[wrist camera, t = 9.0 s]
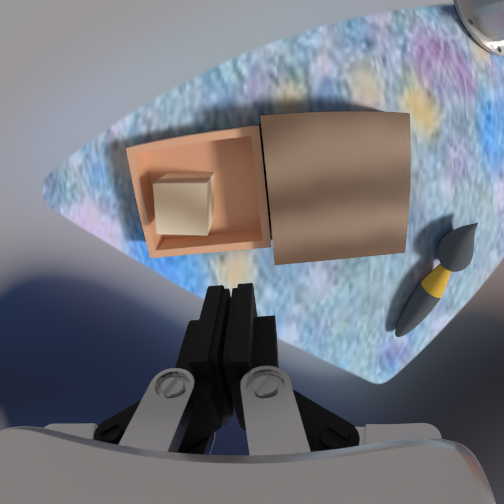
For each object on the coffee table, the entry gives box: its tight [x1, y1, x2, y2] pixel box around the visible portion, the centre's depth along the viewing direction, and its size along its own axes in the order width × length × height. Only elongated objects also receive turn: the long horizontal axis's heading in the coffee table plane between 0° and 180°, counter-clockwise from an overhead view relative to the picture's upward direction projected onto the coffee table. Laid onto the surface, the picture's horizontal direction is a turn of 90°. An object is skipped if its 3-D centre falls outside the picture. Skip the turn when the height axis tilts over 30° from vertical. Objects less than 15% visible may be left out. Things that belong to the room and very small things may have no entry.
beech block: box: [153, 172, 215, 236], centre depth 30 cm, size 5×5×5 cm
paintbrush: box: [395, 223, 478, 337], centre depth 35 cm, size 20×5×5 cm, turn 166°
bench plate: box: [260, 111, 411, 265], centre depth 29 cm, size 14×14×6 cm
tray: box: [126, 125, 271, 258], centre depth 31 cm, size 12×13×4 cm
